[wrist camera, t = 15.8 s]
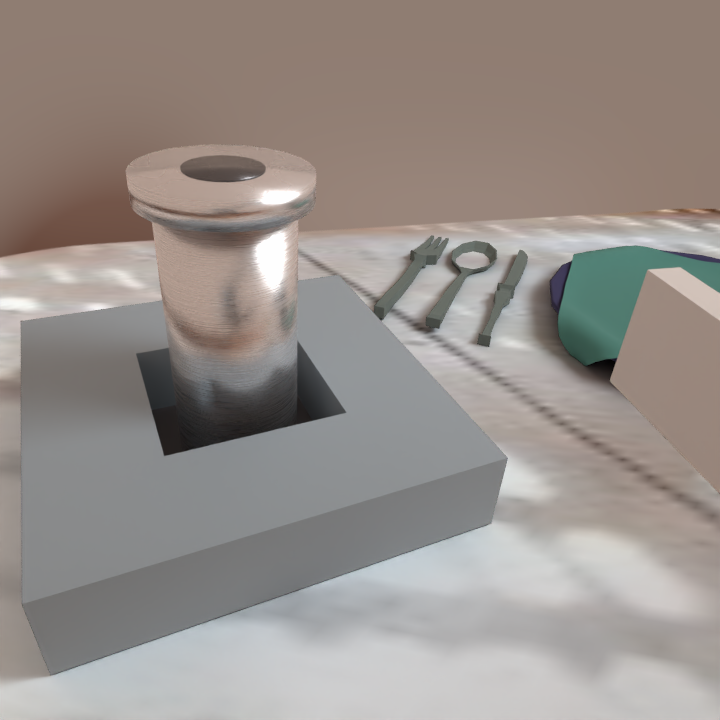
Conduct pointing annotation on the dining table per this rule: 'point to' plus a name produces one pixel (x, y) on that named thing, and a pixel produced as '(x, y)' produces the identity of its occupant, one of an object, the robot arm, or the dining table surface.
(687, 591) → the dining table surface
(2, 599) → the dining table surface
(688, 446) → the robot arm
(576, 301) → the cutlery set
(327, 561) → the jig
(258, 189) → the bushing
